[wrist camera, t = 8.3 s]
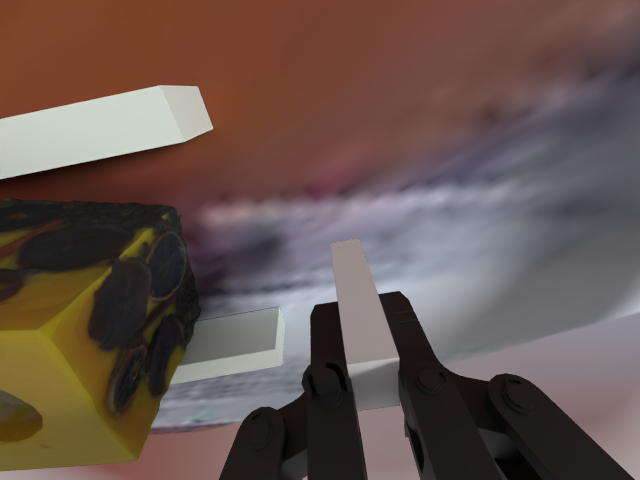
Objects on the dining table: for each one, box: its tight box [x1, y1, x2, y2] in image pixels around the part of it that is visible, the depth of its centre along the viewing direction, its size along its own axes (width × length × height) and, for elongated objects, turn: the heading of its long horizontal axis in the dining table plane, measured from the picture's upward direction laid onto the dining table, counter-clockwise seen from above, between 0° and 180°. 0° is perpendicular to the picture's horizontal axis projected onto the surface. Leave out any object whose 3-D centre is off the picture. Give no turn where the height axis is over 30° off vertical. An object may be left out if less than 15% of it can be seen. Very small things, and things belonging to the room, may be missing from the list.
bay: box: [0, 86, 285, 385], centre depth 15 cm, size 18×18×5 cm
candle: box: [0, 198, 201, 471], centre depth 14 cm, size 10×10×10 cm
